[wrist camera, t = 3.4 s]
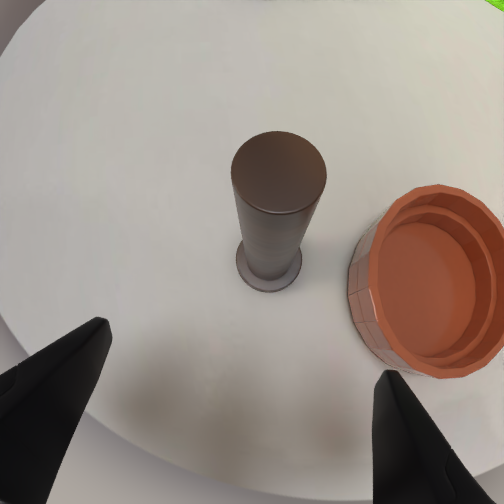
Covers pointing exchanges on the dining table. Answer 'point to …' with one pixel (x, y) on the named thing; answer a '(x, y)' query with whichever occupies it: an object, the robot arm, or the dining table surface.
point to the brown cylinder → (275, 205)
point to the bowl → (431, 284)
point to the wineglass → (497, 3)
